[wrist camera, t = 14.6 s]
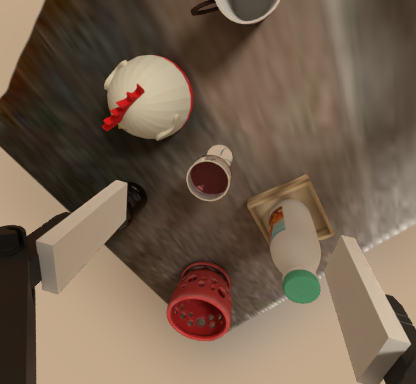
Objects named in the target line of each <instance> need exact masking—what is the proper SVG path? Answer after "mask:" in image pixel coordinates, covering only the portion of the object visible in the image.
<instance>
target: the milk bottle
mask: <svg viewBox="0 0 416 384" xmlns="http://www.w3.org/2000/svg"><path fill="white" fill-rule="evenodd" d="M269 239H270V251H271V256H272V259H273V262H274V264H275V265H276V267H277V268H278V270H279V271H280V272H281V273H282V274H283V278H282V281H283V290H284V293H285V295H286V297H287V298H288V299H290V300H291V301H293V302H296V303H309V302H312V301H314V300H315V299H317V298H318V296H319V294H320V284H319V281H318V276H317V275H316V270H317V268H318V266H319V263H320V259H321V248H320V244H319V240H318V236H317V233H316V230H315V226H314V223H313V220H312V217H311V214H310V211H309V209H308V207H307V206H306V205H305V204H304V203H302V202H301V201H298V200H295V199H284V200H281V201H279V202H277V203H276V204H275V205H274V206H273V207H272V208H271V210H270V212H269Z"/></svg>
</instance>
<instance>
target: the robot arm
mask: <svg viewBox="0 0 416 384" xmlns="http://www.w3.org/2000/svg"><path fill="white" fill-rule="evenodd" d="M126 206H127V183H126V182H122V181H118V180H115V181H114V182H113V183H111V184H110V185H109V186H107V187H106V188H105V189H103V190H102V191H101V192H100V193H98V194H97V195H96V196H94V197H93V198H92V199H90V200H89V201H88V202H86V203H85V204H84V205H82V206H81V207H80V208H78V209H77V210H76V211H74V212H73V213H69V212H65V213H62V214H59V215H56V216H55V217H53V218H52V219H51V220H49V221H48V222H46V223H45V224H43V225H42V227H39V228H38V229H36V230H35V231H34V232H32V233H31V234H29V235H28V236H26V231H25V229H24V228H23V227H21V226H16V225H8V226H2V227H0V384H36V320H35V318H36V317H35V316H36V315H35V286H36V285H37V284H38V283H39V282H40V281H41V282H42V289H43V290H45V291H49V292H52V293H55V294H59V293H60V292H61V291H62V290H63V288H64V287H65V286H66V285H67V284H68V283H69V282H70V280H72V279H73V277H74V276H75V275H76V274H77V273H78V272H79V271H80V270H81V269H82V268H83V266H84V265H85V264H86V263H87V262H88V261H89V260H90V259H91V257H93V256H94V254H95V253H96V252H97V251H98V250H99V249H100V248H101V247H102V246H103V245H104V243H105V242H106V241H107V240H108V239H109V238H110V237H111V236H112V235H113V234H114V232H115V231H116V230H117V229H118V228H119V227H120V226H121V225H122V224H123V223H124V221H125V220H126ZM324 273H325V276H326V279H327V283H328V286H329V289H330V293H331V296H332V300H333V303H334V306H335V310H336V313H337V316H338V320H339V323H340V326H341V330H342V333H343V336H344V340H345V343H346V347H347V350H348V353H349V356H350V360H351V363H352V367H353V370H354V374H355V377H356V380H357V382H359V383H362V384H380V383H381V381H382V380H383V379H384V381H385V383H386V384H416V329H415V327H414V326H412V322H411V320H410V319H409V318H408V315H407V314H406V312H405V310H404V308H403V307H402V305H401V304H400V303H399V302H398V301H397V300H396V299H395V298H394V297H393V296H390V295H385V294H384V292H383V290H382V289H381V287H380V285H379V283H378V281H377V279H376V278H375V275H374V274H373V272H372V270H371V268H370V266H369V264H368V262H367V260H366V259H365V257H364V255H363V253H362V251H361V249H360V247H359V246H358V244H357V242H356V240H355V238H351V237H347V236H343V235H341V236H340V238H339V241H338V243H337V245H336V247H335V249H334V251H333V253H332V255H331V257H330V259H329V262H328V264H327V266H326V268H325V270H324Z"/></svg>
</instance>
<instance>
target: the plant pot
mask: <svg viewBox="0 0 416 384" xmlns="http://www.w3.org/2000/svg"><path fill="white" fill-rule="evenodd" d="M230 287H231V282H230V278H229V276H228V274H227V273H226V272H225V271H224V270H223V269H222V268H221V267H219V266H218V265H216V264H213V263H210V262H196V263H193V264H191V265H189V266H188V267H187V268H186V269H185V270H184V271H183V273H182V277H181V281H180V282H179V284H178V285H177V287H176V289H175V290H174V292H173V294H172V297H171V299H170V302H169V304H168V307H167V318H168V321H169V323H170V324H171V326H172V327H173V328H174V329H175V330H176V331H177V332H179V333H180V334H182V335H184V336H186V337H188V338H190V339H194V340H199V341H211V340H215V339H218V338H220V337H222V336H223V335H224V334H226V332H227V331H228V329H229V327H230V322H231V306H232V304H231V295H230ZM180 305H181V306H182V309H180ZM175 309H176V313H175V311H174V310H175ZM181 313H183V314H184V316H185V317H184V319H183V318H181ZM189 313H191V314H192V317H190V316H189ZM211 315H213V316H214V318H213V319H212V320H209V317H210V316H211ZM219 316H221V319H220V320H218V318H219ZM199 318H203V319H204V320H205V321H206V324H205V325H204V326H199V325H198V324H197V322H196V321H197V319H199ZM188 321H191V322H192V326H190V325H188V323H187V322H188ZM213 323H215V326H214V327H213V328H211V325H212V324H213ZM221 323H222V324H221Z"/></svg>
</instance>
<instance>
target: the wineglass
mask: <svg viewBox="0 0 416 384" xmlns="http://www.w3.org/2000/svg"><path fill="white" fill-rule="evenodd" d="M232 158H233V157H232V153H231V151H230V150H229V149H228V148H227V147H226V146H224V145H215V146H213V147H211V148H210V149H209V150H208V153H207V155H205V156H202V157H200V158H198V159H197V160H196V161H195V162H194V163H193V164H192V166H191V167H190V169H189V171H188V173H187V179H186V181H187V185H188V188H189V189H190V191H191V193H192V194H194V195H195V196H196V197H197V198H199V199H202V200H206V201H214V200H217V199H220V198H222V197H223V196H224V195H225V194H226V193H227V191H228V189H229V185H230V184H231V179H232V173H231V169H230V167H229V166H230V165H231V163H232Z"/></svg>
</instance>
